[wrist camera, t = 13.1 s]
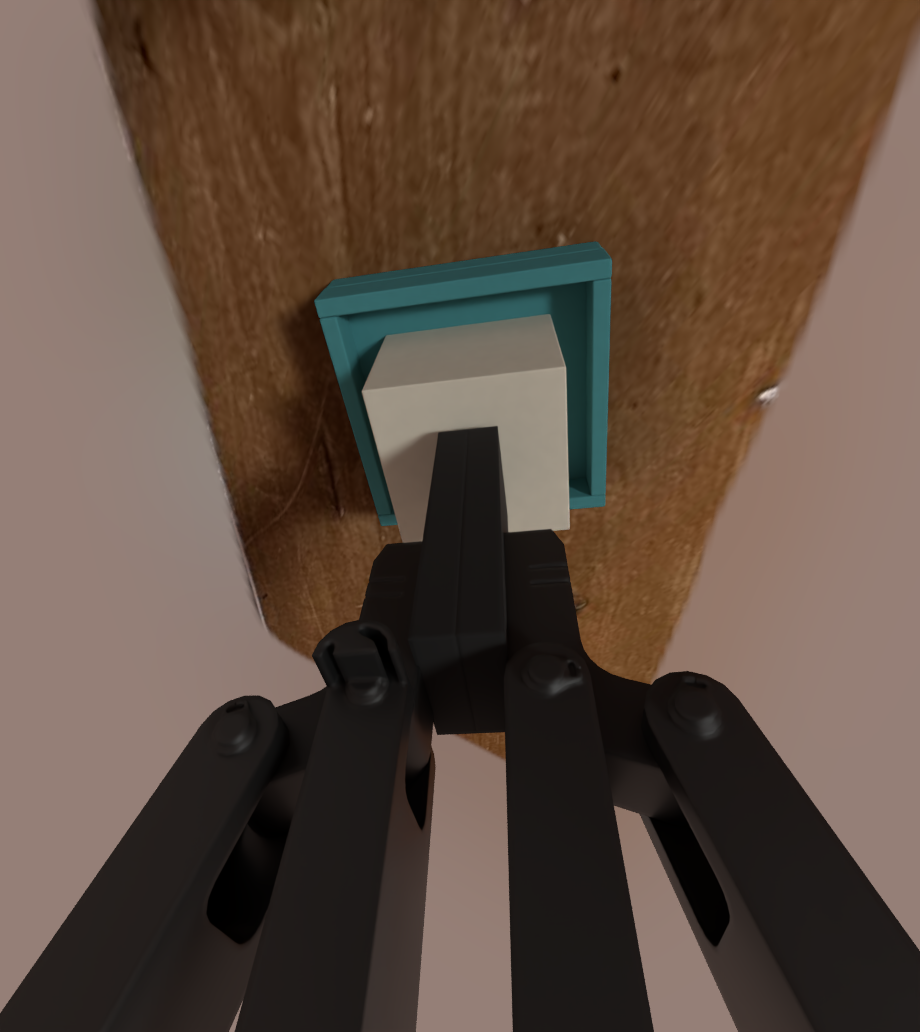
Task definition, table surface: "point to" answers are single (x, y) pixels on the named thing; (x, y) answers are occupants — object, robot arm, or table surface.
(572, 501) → the shallow tray
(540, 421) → the light gray cube
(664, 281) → the table surface
